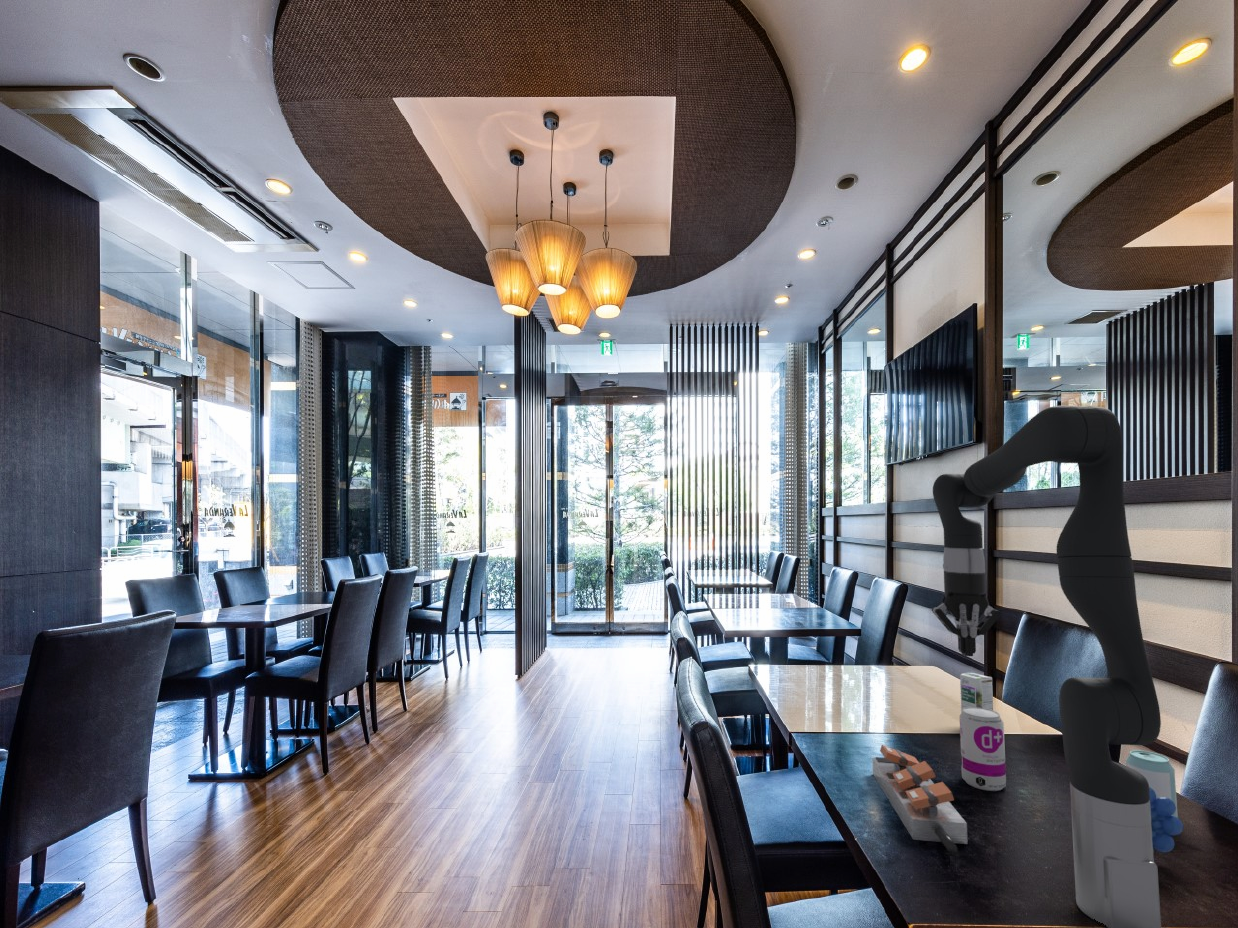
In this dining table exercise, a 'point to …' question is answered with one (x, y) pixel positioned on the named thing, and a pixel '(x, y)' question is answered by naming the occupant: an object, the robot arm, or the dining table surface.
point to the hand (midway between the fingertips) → (967, 655)
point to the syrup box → (976, 691)
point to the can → (1155, 773)
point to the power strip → (921, 810)
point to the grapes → (1163, 822)
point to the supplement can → (982, 749)
